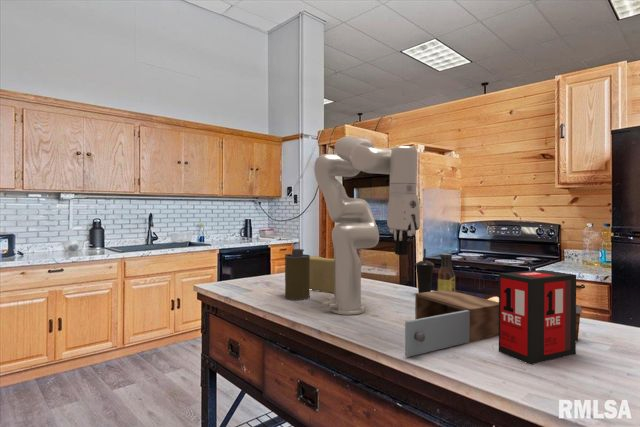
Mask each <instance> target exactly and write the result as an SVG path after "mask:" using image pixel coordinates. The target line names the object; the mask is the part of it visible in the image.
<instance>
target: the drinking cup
mask: <svg viewBox="0 0 640 427" xmlns="http://www.w3.org/2000/svg"><path fill="white" fill-rule="evenodd" d="M426 250H427V249H426V248H424V249H423V260H420V261H418V262H417V261H416V263H415V267H416V269H415V270H416V278H417V279H416V280H417V290H418V292H417V293H424V292H432V283H433V274H434V272H433V271H434V266H435V263H433V262H431V261H429V260H426V259H427V258H426V257H427V256H426V254H427V253H426V252H427V251H426Z"/></svg>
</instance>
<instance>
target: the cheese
mask: <svg viewBox="0 0 640 427" xmlns="http://www.w3.org/2000/svg"><path fill="white" fill-rule="evenodd" d="M334 271H335V267H334V258H326V257H321V256H318V255H310V282H309V289H312V290H311V291H315V290H319V291H318V292H322V291H325V292H324V293H328V292H331V293H330V294H334Z"/></svg>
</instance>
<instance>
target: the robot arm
mask: <svg viewBox="0 0 640 427" xmlns="http://www.w3.org/2000/svg"><path fill="white" fill-rule="evenodd" d="M334 151H335V153H324V154H323V153H322V154H320V155H319V156H318V157H316V159H315V161H314V167H313V169H314V170H313V171H314V177H315V181H316V183H317V185H318V187H319V189H320V190H321V193H322V195H323V199H324V202H325V204H326V208H327V212H328V215H329V217H330V219H331V221H332V222H334V223H336V225H335V226H334V227H333V228H332V231H331V240H332V244H333V245H332V246H333V257H334V258H333V259H334V267H335V271H334V293H333V296H334V297H331V299H330V300H329V301H328V300H327V301H322V302H321V306H322V307H323V308H326V307H327V308H329V311H330V312H332V313H334V314H336V315H337V314H338V315H344V316H345V315H347V316H349V315H351V316H352V315H353V316H354V315H361V314H363V313H365V312H366V306H364V305H362V299H361V298H362V260H361V258H360V256H359V254H358V253H357V251H356V250H357V249H359V250H360V249H371V248H374V247H376V246H377V245H378V243H379V240H380V232H379V227H378V225H377V221H376V220H375V218H374V217H375V216H374V214H373V211H372V209H371V206H370V204H369V202H367V200H365V199H363V198H357V197H356V198H355V197H349V196H348V194H347V192H346V188H345V187H344V186H343V184H342V182H340V181H339V180H338V179H337V178H336V177H345V178H347V177H348V178H352V177H355V176H358V175H359V173H360V172H364V173H367V174H380V175H389V192H388V193H389V194H388V195H389V197H388V205H387V211H386V212H387V213H386V216H387V217H386V222H387V223H386V224H387V227H388V228H389V232H390V233H391V234H393V239H394V241H395V242H394V246H395V247H394V254H395V255H397V256H407V255H408V254H409V253H408V252H409V251H408V250H409V241H410V239H411V237H412V236H415V235H416V231H418V230H420V227H421V212H420V202H419V196H418V195H417V182H418V180H417V178H418V149H417V148H416V147H414V146H412V145H398V146H397V145H396V146H394V147H392V148H391V149H390V148H384V147H383V148H382V147H375V146H374V142H373V141H372V140H371V139H369V138H365V137H357V136H356V137H355V136H343V137H340V138H339V139H338V140H336V142H335V144H334Z"/></svg>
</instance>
